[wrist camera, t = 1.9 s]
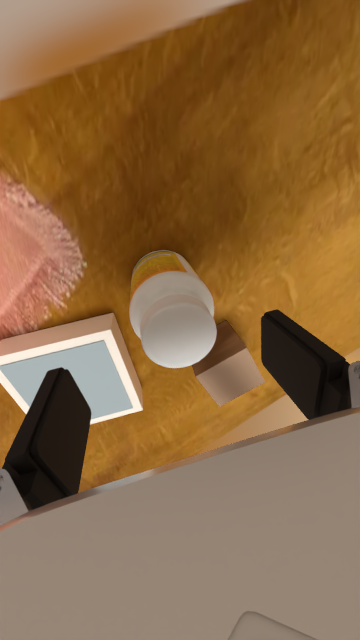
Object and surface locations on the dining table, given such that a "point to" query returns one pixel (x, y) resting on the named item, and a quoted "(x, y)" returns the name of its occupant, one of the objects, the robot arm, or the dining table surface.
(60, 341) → the base
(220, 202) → the dining table surface
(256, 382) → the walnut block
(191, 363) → the supplement bottle
